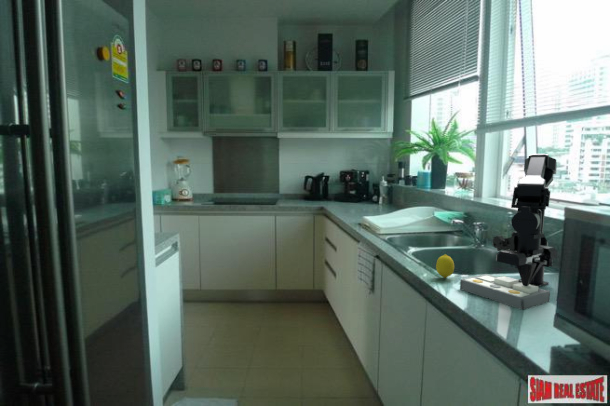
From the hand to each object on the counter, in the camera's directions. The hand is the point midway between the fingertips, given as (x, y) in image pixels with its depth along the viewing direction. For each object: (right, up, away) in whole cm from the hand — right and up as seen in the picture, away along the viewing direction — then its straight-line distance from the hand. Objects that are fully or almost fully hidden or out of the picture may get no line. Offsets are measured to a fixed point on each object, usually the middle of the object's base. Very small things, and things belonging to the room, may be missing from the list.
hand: (525, 285), depth 102 cm
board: (-4, -4, +4) cm, 7 cm away
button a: (-5, -2, +10) cm, 11 cm away
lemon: (-14, -2, +21) cm, 25 cm away
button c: (0, -3, 0) cm, 3 cm away
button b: (-3, -2, +5) cm, 6 cm away
